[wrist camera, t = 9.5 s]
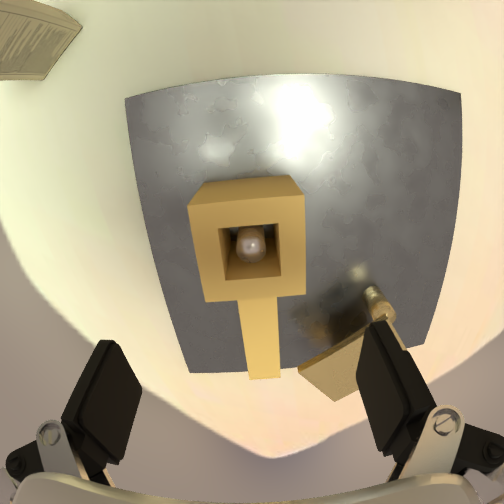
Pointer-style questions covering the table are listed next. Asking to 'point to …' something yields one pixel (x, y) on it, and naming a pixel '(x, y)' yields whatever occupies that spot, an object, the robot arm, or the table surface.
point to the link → (251, 274)
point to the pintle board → (306, 207)
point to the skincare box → (32, 38)
